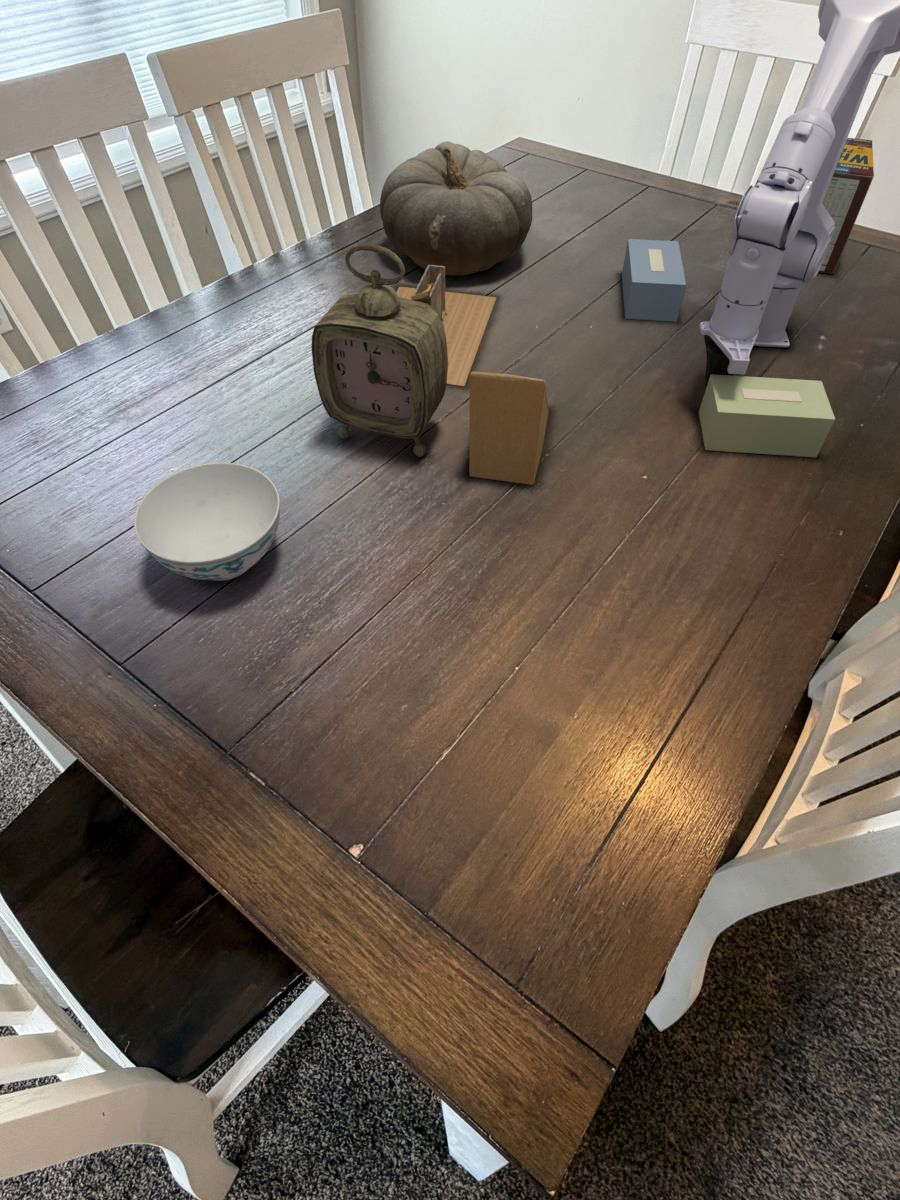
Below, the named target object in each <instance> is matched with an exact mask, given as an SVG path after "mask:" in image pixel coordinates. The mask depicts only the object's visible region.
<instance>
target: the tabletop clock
mask: <svg viewBox="0 0 900 1200" xmlns="http://www.w3.org/2000/svg"><path fill="white" fill-rule="evenodd" d="M361 251H366V252H367V251H368V252H375V253H379V254H382V255H385V256H387V257H389V258H391V259H392V260H393V261H394V262H395V263H396V264H397V265H398V267H399V269H400V274H399V275H398V276H396V277H390V278H383V277H381V276H382V275H381V272H380V271H379V270H378V269H373V270H372V271H371V272H370V275H368V274H364V273H362V272H361V271H358V270H357V269H356V268H355V267H353V266H352V264H351V262H350V259H351V256H352V255H353V254H355V253H356V252H361ZM344 262H345V265H346V267H347V269H348V270H349V271H350V273H352V275H353V276H354V277H356V278H357V279H360V280H361V281H363V282H366V283H367V284H365V285H364V286H363V287H362V288H361V289H360V290H359V291H355V292H349V293H344V294H342V295H340V298H338V299H337V300H336V302H335V303H334V304H333V305H332V306H331V307H330V308H329V309H328V310H327V312H326V313H325V314H324V315H323V316H322V317H321V318H320V320H318V322H317V323H316V324H315V325H314V327H313V331H312V334H311V357H312V367H313V369H312V370H313V374H314V378H315V383H316V387H317V392H318V394H319V395H318V396H319V398H320V402H321V404H322V406H323V408H324V410H325V411H326V414H327V416H328V417H330V418H331V419H333V420H334V421H336V422H338V423H340V424H343V425H341V426H340V427H339V428H338V429H337V434H338V437H340V439H347V438H350V435H351V430H350V427H352V428H355V429H357V430H360V431H361V430H362V431H364V432H367V433H372V434H375V435H381V436H387V437H393V438H399V439H413V441H414V443H415V445H414V447H413V453H414V455H415V456H417V457H419V458H420V457H423V456H425V455H426V453H427V447H426V446H425V444H423V443H421V441H420V440H421V439H420V437H421V435H422V433H423V432H424V430H425V429H426V427H427V426H428V424H429V422H430V421H431V419H432V417H433V416H434V414H435V412H436V411H437V409H438V407H440V405H441V402H443V401H442V400H443V399H444V396H445V393H446V389H447V386H448V384H447V372H448V354H447V342H446V335H445V330H444V326H443V322H442V319H441V317H440V314H439V312H438V310H437V309H435V308H433V307H432V306H430V305H428V304H425V303H422V302H418V301H414V300H410V299H406V298H402V297H398V295H397V293H396V292H397V290H395V289H394V287H392V285H396V284H398V283H400V282H401V281H402V280H403V279H404V277H405V274H406V268H405V264H404V263H403V261H402V259H401V257H399V256H398V255H397V254H396V253H395V252H393V251H392V250H391V249H390V248H387V247H385V246H382V245H379V244H373V243H358V244H355V245H353V246H351V247H350V248H349V249H348V250H347V251H346V254H345V256H344Z"/></svg>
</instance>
